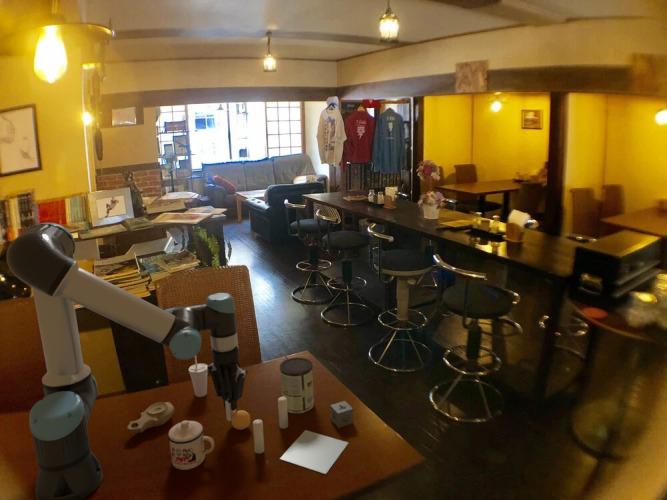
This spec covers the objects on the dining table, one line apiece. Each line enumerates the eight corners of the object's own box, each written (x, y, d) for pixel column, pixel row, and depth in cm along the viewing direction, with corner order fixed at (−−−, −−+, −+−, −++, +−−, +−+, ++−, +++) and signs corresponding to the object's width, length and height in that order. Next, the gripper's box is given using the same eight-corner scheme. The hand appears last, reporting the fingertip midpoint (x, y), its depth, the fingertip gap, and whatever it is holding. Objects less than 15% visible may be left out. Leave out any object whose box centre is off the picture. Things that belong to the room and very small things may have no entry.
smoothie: (190, 390, 170) (186, 353, 167) (210, 387, 172) (206, 350, 168) (191, 400, 164) (187, 361, 161) (211, 397, 166) (207, 358, 163)
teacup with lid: (165, 470, 132) (160, 431, 129) (179, 448, 141) (174, 411, 138) (210, 472, 131) (206, 433, 128) (220, 449, 140) (217, 413, 137)
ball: (227, 414, 147) (242, 418, 144) (238, 405, 152) (253, 408, 149) (228, 431, 148) (244, 435, 146) (239, 421, 153) (254, 425, 150)
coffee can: (285, 395, 166) (283, 356, 163) (316, 396, 165) (314, 357, 161) (278, 413, 156) (276, 372, 153) (311, 414, 155) (310, 373, 152)
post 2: (277, 427, 149) (276, 400, 147) (282, 422, 151) (281, 396, 149) (285, 429, 148) (283, 402, 146) (289, 424, 150) (288, 398, 148)
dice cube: (338, 428, 148) (338, 413, 147) (330, 419, 152) (330, 405, 151) (353, 423, 150) (352, 408, 149) (345, 415, 155) (344, 400, 153)
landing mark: (279, 459, 135) (279, 458, 135) (305, 430, 147) (305, 430, 147) (325, 474, 129) (325, 473, 129) (348, 443, 141) (348, 442, 141)
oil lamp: (126, 440, 145) (123, 425, 144) (146, 412, 159) (144, 398, 157) (162, 441, 144) (160, 425, 143) (179, 412, 158) (177, 398, 157)
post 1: (253, 452, 138) (250, 423, 136) (258, 446, 141) (256, 418, 138) (260, 454, 137) (258, 426, 135) (266, 449, 139) (264, 420, 137)
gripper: (251, 344, 145) (256, 416, 151) (215, 337, 150) (221, 406, 156) (235, 355, 138) (242, 430, 144) (198, 347, 144) (206, 419, 150)
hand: (231, 418), depth 150 cm, fingers closed
